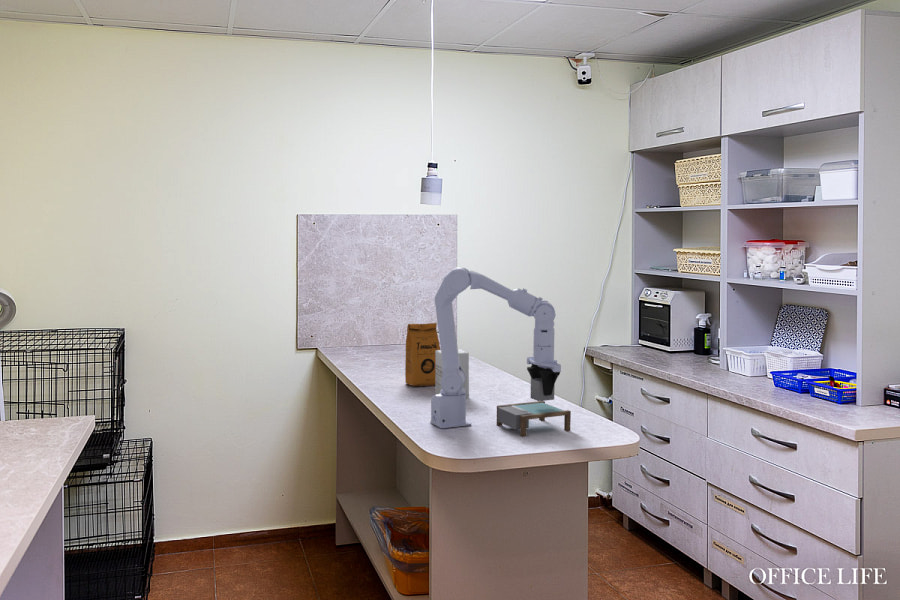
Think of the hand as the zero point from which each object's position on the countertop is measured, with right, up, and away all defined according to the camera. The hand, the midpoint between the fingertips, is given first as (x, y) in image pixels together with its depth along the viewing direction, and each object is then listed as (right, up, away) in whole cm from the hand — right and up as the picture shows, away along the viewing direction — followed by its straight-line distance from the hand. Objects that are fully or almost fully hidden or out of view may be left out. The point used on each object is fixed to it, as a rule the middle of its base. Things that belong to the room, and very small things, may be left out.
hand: (542, 393), depth 221 cm
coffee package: (-35, -4, +59) cm, 69 cm away
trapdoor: (-4, -8, -1) cm, 9 cm away
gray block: (0, -2, 0) cm, 2 cm away
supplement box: (-25, -6, +41) cm, 48 cm away
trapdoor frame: (-3, -9, -1) cm, 10 cm away
